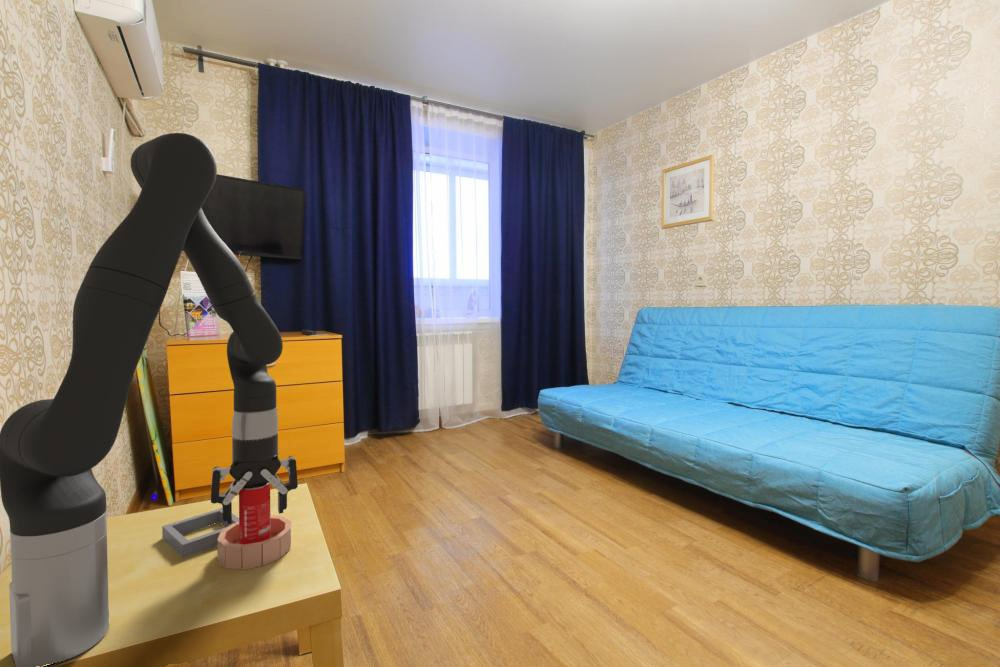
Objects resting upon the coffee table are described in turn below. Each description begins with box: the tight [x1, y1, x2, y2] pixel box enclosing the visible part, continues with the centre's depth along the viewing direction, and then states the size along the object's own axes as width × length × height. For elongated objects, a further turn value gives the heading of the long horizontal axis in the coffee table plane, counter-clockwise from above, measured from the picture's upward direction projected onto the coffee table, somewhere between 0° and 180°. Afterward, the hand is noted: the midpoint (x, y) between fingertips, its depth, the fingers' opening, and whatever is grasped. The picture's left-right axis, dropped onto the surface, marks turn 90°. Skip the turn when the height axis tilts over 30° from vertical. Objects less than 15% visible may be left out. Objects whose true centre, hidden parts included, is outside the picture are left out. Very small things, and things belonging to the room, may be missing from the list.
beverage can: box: [238, 482, 271, 544], centre depth 84 cm, size 5×5×12 cm
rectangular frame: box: [161, 507, 239, 559], centre depth 89 cm, size 11×11×2 cm
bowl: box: [216, 514, 292, 570], centre depth 85 cm, size 12×12×4 cm
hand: (255, 516), depth 84 cm, fingers open, 8 cm apart
